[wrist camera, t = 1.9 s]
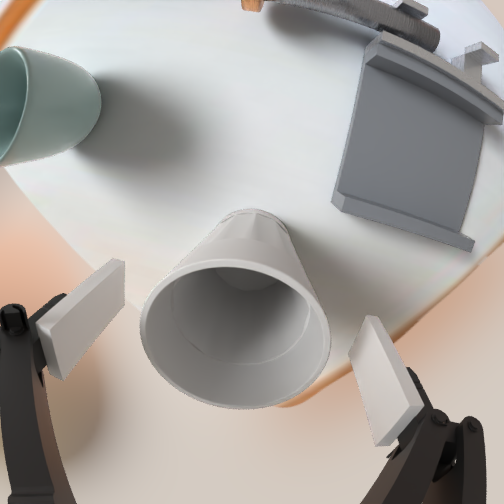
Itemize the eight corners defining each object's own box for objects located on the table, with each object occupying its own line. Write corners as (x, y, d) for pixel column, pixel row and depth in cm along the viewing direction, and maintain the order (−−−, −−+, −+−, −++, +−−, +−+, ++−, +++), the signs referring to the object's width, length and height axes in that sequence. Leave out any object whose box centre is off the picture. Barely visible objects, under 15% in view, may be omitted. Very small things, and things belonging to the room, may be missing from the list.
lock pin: (244, 19, 15) (238, -9, 11) (257, -22, 14) (254, -53, 9) (416, 70, 15) (446, 58, 11) (420, 27, 14) (447, 9, 10)
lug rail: (370, 12, 15) (389, -11, 11) (483, 73, 15) (513, 67, 11) (363, 55, 16) (384, 37, 12) (480, 114, 17) (512, 113, 12)
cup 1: (130, 112, 19) (45, 100, 10) (70, 171, 21) (-15, 194, 12) (92, 51, 17) (14, 24, 8) (38, 111, 19) (-41, 113, 9)
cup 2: (277, 180, 20) (287, 222, 9) (316, 272, 23) (351, 381, 12) (182, 224, 22) (105, 301, 11) (228, 307, 24) (200, 420, 13)
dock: (363, 55, 16) (378, 42, 13) (480, 114, 17) (503, 114, 14) (330, 202, 21) (341, 211, 18) (450, 239, 21) (470, 252, 18)
